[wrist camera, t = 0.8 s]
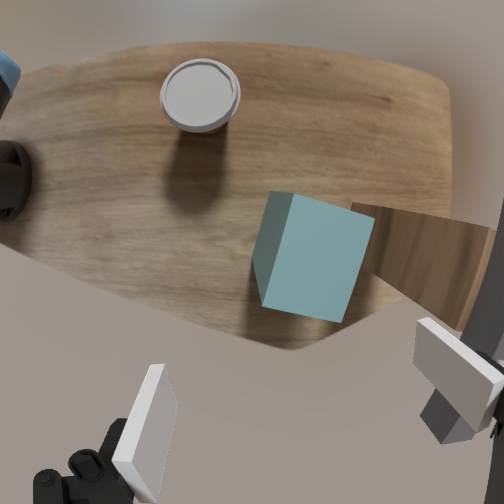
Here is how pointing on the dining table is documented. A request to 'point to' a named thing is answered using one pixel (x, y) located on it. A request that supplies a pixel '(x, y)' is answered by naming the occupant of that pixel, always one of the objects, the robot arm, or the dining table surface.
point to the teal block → (309, 255)
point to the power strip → (475, 343)
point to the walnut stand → (429, 259)
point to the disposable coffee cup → (200, 96)
